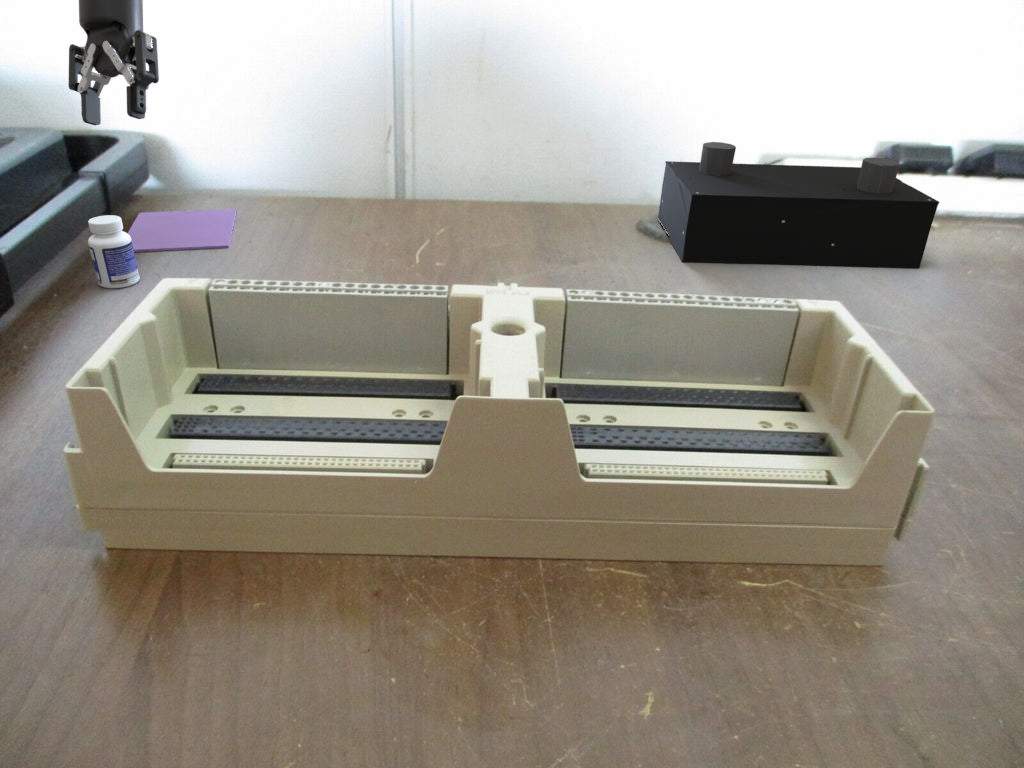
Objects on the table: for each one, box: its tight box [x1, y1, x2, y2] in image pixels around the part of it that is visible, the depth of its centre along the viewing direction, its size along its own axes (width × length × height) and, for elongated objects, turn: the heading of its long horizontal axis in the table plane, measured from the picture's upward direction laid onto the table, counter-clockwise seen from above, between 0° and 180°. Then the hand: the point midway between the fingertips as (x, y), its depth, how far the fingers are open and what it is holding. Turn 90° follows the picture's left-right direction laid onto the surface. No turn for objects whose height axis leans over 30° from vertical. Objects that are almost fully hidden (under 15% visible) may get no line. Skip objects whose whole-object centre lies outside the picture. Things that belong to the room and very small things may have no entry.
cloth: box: [126, 208, 238, 253], centre depth 126 cm, size 16×20×1 cm
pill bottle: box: [87, 214, 141, 289], centre depth 103 cm, size 5×5×9 cm
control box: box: [657, 141, 940, 269], centre depth 128 cm, size 38×24×15 cm, turn 90°
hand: (113, 120), depth 102 cm, fingers open, 8 cm apart
